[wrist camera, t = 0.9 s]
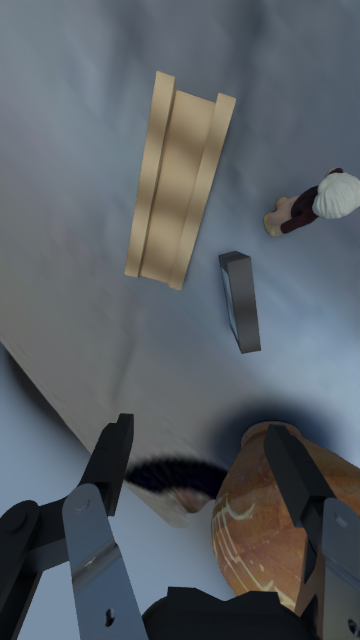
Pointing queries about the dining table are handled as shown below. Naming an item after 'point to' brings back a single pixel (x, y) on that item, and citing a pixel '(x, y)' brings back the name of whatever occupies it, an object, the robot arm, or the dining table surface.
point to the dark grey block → (241, 300)
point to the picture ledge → (175, 180)
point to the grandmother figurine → (315, 203)
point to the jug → (269, 517)
